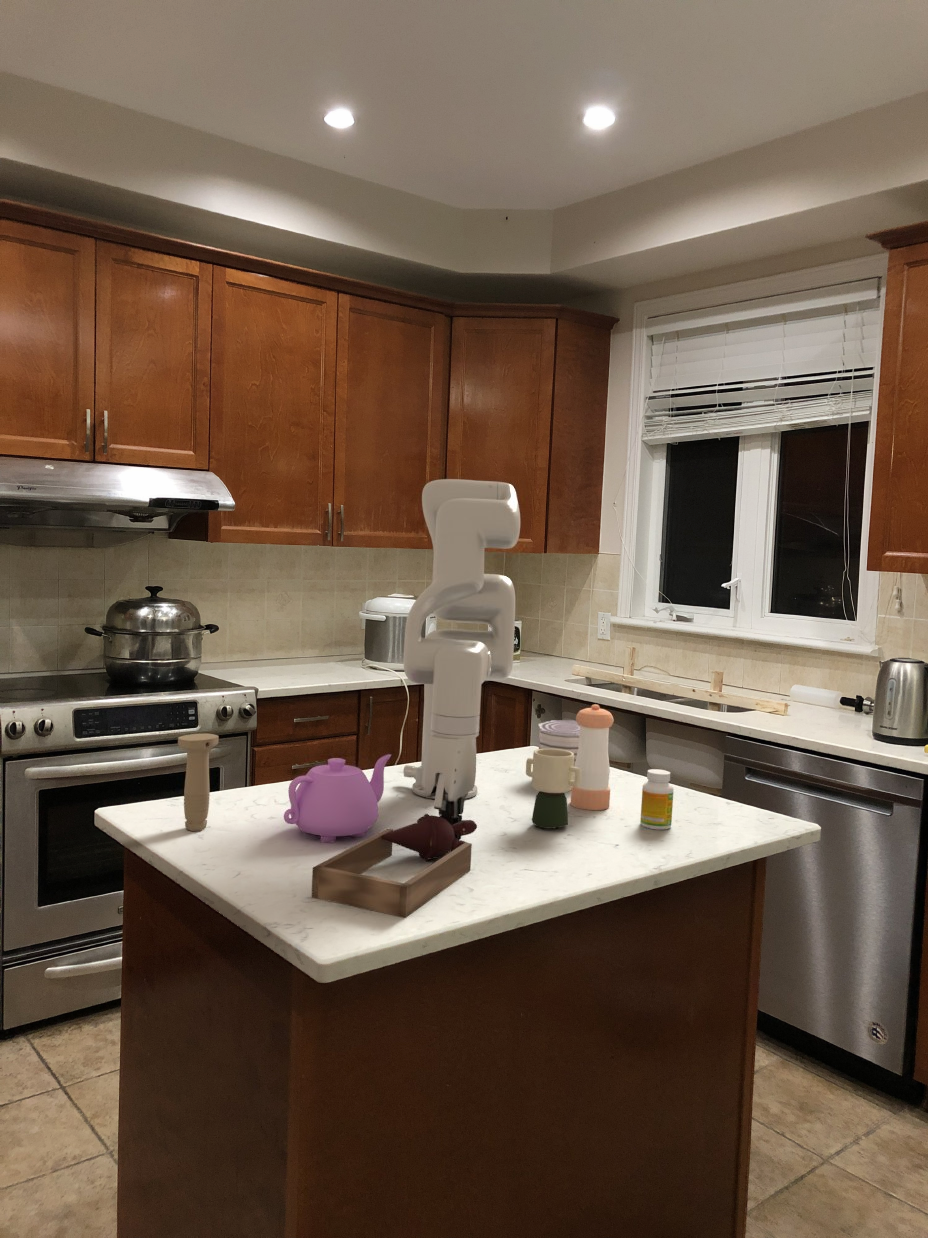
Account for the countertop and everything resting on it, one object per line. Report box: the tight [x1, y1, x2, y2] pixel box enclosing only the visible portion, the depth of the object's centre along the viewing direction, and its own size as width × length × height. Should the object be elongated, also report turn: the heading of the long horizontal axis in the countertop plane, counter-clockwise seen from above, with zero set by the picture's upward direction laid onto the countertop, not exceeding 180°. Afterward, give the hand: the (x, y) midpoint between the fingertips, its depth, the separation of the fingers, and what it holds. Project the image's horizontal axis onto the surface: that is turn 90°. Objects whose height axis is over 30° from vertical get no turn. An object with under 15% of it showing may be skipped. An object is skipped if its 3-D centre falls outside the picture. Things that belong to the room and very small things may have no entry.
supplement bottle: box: [639, 768, 674, 830], centre depth 169 cm, size 5×5×10 cm
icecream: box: [382, 813, 478, 862], centre depth 145 cm, size 7×7×15 cm
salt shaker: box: [570, 703, 615, 811], centre depth 180 cm, size 7×7×19 cm
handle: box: [177, 732, 220, 832], centre depth 154 cm, size 5×6×15 cm
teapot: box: [283, 753, 392, 844], centre depth 156 cm, size 20×14×12 cm
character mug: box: [525, 748, 581, 829], centre depth 165 cm, size 11×7×13 cm, turn 52°
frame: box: [311, 827, 473, 918], centre depth 134 cm, size 14×21×4 cm, turn 157°
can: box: [538, 719, 580, 766], centre depth 198 cm, size 11×11×12 cm
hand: (449, 839), depth 151 cm, fingers closed
